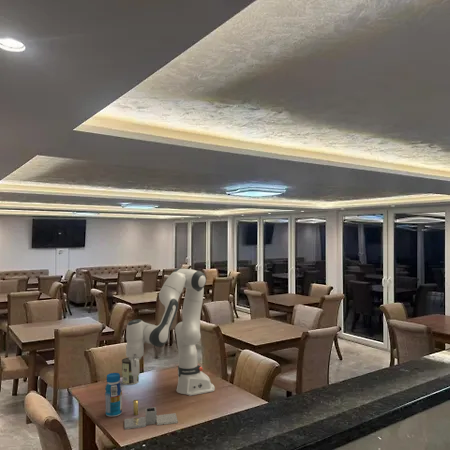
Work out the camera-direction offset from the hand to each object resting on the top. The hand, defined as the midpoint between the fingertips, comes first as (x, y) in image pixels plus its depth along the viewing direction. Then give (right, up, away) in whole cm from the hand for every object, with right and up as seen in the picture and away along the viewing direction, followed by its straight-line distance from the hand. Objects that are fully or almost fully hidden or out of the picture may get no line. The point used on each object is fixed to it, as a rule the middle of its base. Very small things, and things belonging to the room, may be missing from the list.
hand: (135, 379), depth 215 cm
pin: (0, -18, 0) cm, 18 cm away
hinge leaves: (+10, -18, -9) cm, 22 cm away
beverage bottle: (-11, -18, +1) cm, 22 cm away
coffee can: (-13, -20, +48) cm, 53 cm away
